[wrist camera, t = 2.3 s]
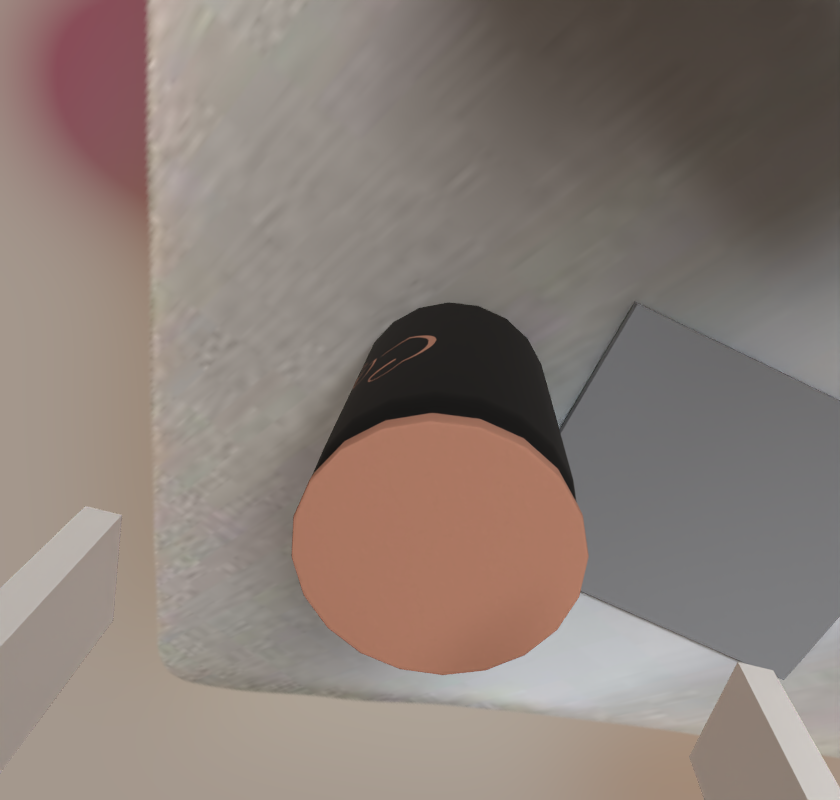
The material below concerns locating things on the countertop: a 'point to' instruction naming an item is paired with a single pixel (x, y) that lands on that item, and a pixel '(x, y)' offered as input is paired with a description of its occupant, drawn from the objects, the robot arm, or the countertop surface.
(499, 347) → the coffee jar
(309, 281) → the countertop surface
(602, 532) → the mat
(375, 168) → the countertop surface
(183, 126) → the countertop surface
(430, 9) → the countertop surface
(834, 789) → the robot arm
